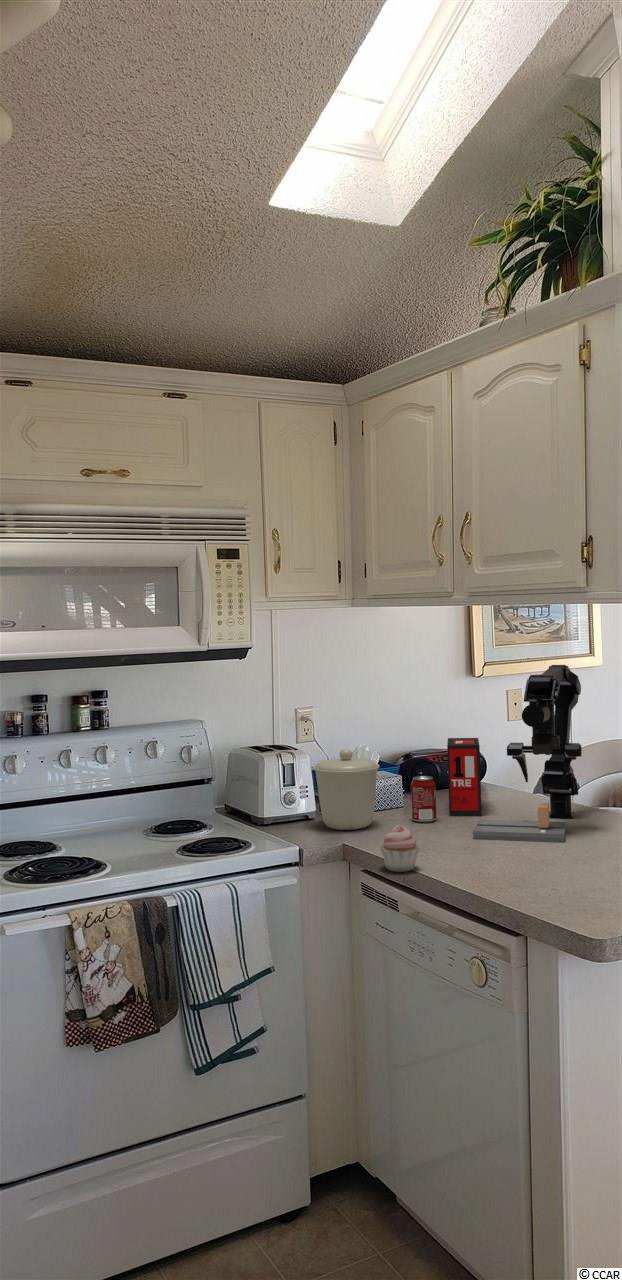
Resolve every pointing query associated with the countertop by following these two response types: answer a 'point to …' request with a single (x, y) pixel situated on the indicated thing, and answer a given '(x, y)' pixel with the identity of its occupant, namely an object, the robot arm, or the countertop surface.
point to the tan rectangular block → (543, 815)
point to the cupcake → (399, 850)
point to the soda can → (423, 799)
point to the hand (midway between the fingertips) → (545, 782)
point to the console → (519, 831)
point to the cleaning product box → (464, 777)
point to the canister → (347, 791)
